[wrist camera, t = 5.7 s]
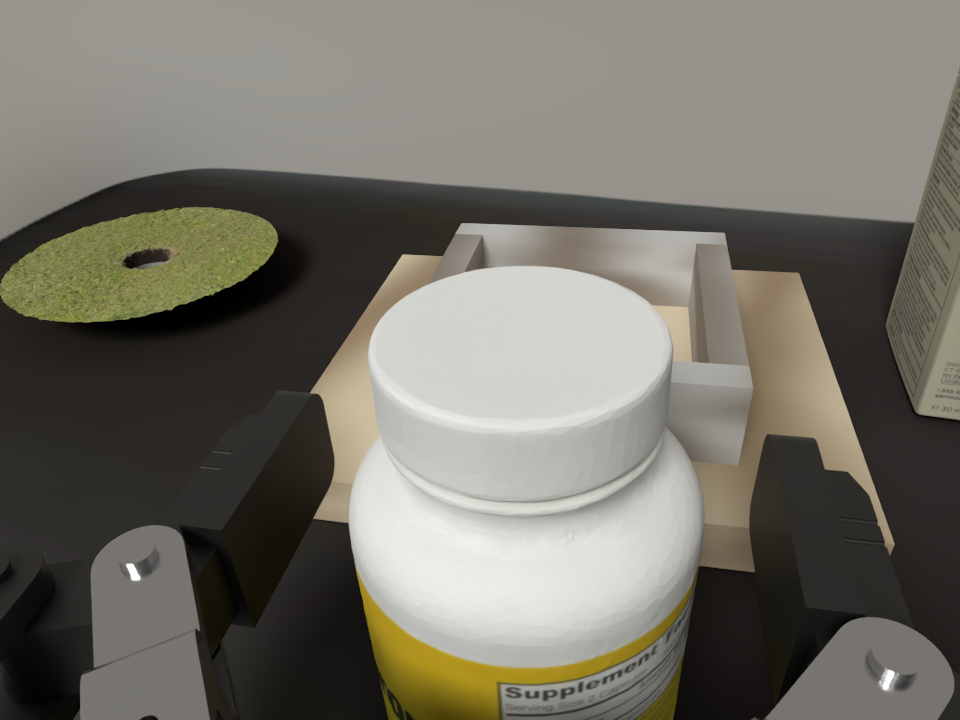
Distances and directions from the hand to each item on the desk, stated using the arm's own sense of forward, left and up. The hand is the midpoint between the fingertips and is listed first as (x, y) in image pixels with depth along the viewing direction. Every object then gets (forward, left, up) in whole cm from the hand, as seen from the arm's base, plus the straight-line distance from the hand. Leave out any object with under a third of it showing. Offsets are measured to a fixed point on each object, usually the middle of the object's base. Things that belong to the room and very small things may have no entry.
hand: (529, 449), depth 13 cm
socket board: (0, -10, -6) cm, 12 cm away
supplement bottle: (0, +2, -6) cm, 7 cm away
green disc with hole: (+19, -15, -6) cm, 25 cm away
